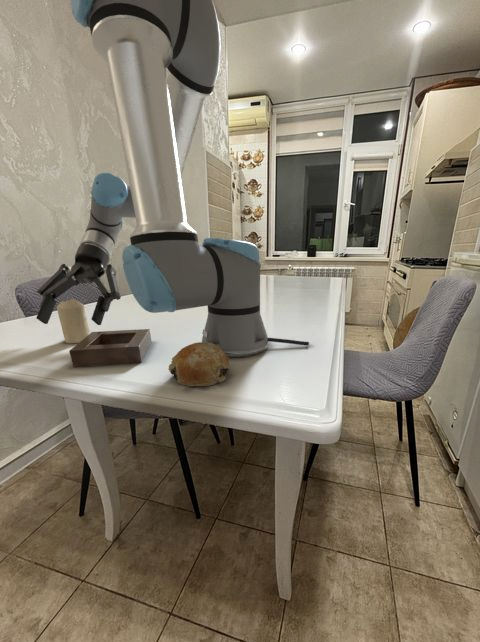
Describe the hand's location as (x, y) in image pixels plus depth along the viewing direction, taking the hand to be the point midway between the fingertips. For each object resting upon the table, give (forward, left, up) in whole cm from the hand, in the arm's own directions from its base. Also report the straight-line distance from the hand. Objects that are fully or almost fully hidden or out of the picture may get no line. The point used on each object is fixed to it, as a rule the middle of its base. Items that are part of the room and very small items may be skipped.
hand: (68, 321), depth 69 cm
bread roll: (-31, +25, -5) cm, 40 cm away
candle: (-1, -2, -5) cm, 6 cm away
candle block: (-13, +10, -5) cm, 17 cm away
